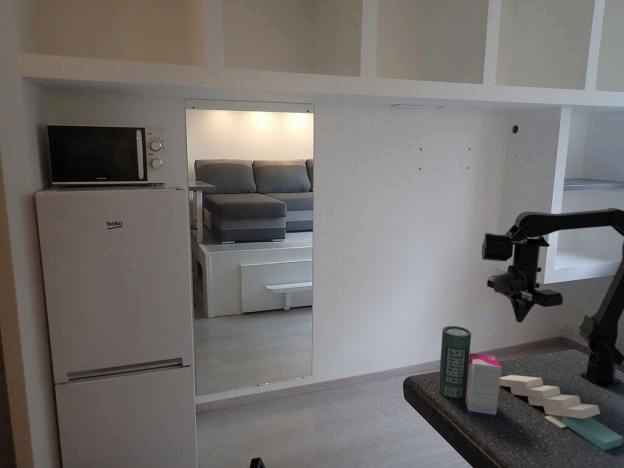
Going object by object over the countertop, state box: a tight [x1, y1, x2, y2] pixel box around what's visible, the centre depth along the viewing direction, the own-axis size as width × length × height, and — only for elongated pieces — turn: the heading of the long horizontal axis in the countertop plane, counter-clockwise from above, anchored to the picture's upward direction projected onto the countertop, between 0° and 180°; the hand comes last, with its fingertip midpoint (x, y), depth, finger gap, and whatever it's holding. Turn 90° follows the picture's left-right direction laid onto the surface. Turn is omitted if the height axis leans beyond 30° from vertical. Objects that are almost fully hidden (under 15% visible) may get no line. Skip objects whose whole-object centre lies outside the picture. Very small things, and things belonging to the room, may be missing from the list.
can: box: [438, 325, 472, 400], centre depth 104 cm, size 6×6×15 cm
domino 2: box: [510, 384, 561, 399], centre depth 101 cm, size 2×5×9 cm
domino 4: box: [543, 403, 601, 419], centre depth 93 cm, size 2×5×9 cm
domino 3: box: [527, 393, 582, 408], centre depth 97 cm, size 2×5×9 cm
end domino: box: [562, 416, 624, 451], centre depth 89 cm, size 2×5×9 cm
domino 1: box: [499, 374, 544, 389], centre depth 105 cm, size 2×5×9 cm
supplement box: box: [464, 352, 502, 418], centre depth 97 cm, size 6×6×12 cm
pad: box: [544, 414, 569, 430], centre depth 94 cm, size 8×4×1 cm, turn 113°
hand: (519, 321), depth 114 cm, fingers closed
